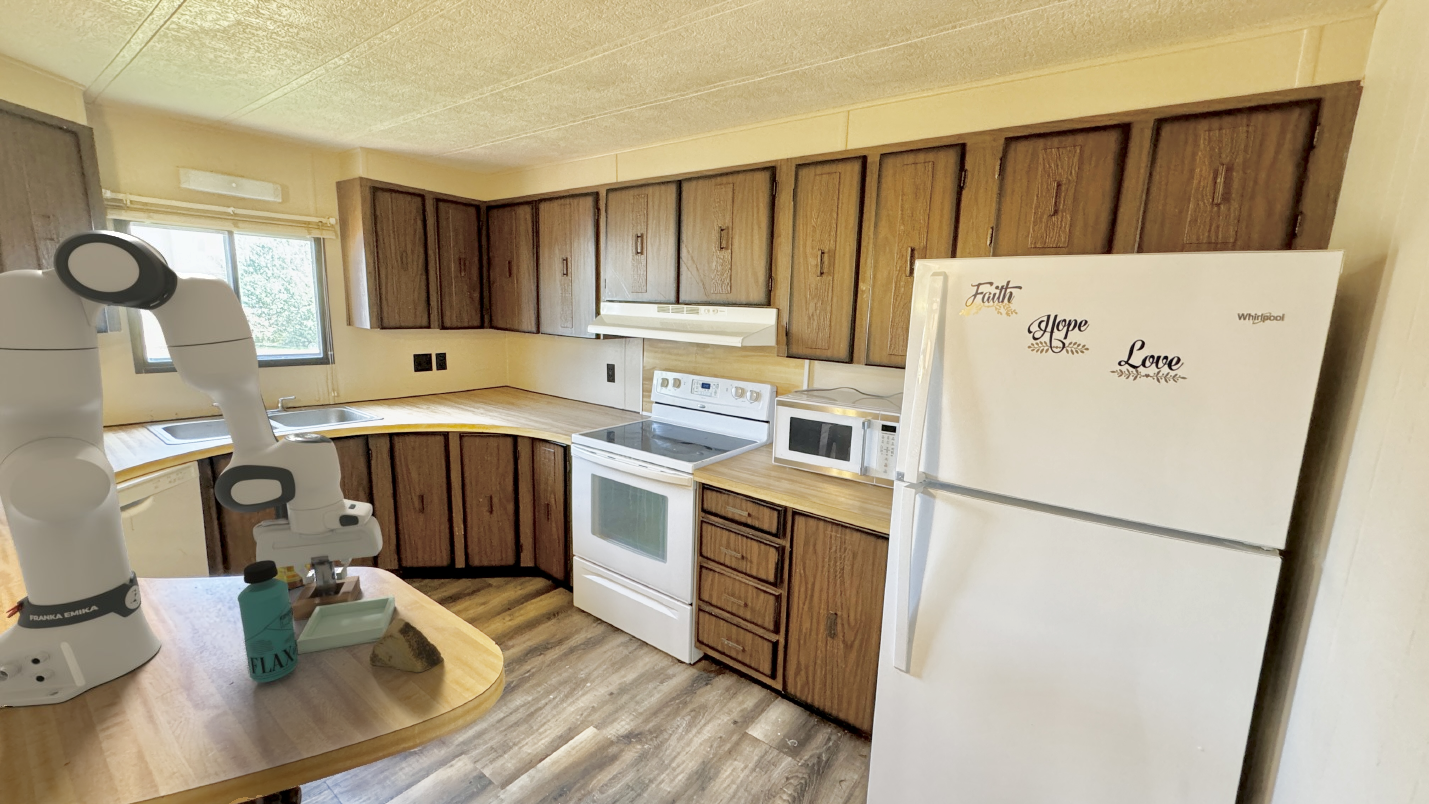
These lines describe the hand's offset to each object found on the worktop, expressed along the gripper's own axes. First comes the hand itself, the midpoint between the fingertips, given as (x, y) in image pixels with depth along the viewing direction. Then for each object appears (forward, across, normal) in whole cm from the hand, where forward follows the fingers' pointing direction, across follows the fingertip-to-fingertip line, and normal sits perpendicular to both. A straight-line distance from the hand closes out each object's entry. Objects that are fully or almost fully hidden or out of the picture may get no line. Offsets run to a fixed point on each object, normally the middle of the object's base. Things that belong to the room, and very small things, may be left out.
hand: (325, 580), depth 109 cm
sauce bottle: (+5, -9, +11) cm, 15 cm away
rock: (+5, +17, -24) cm, 30 cm away
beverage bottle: (+5, -2, -22) cm, 22 cm away
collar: (+5, 0, 0) cm, 5 cm away
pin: (+5, 0, 0) cm, 5 cm away
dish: (+5, +6, -10) cm, 13 cm away
